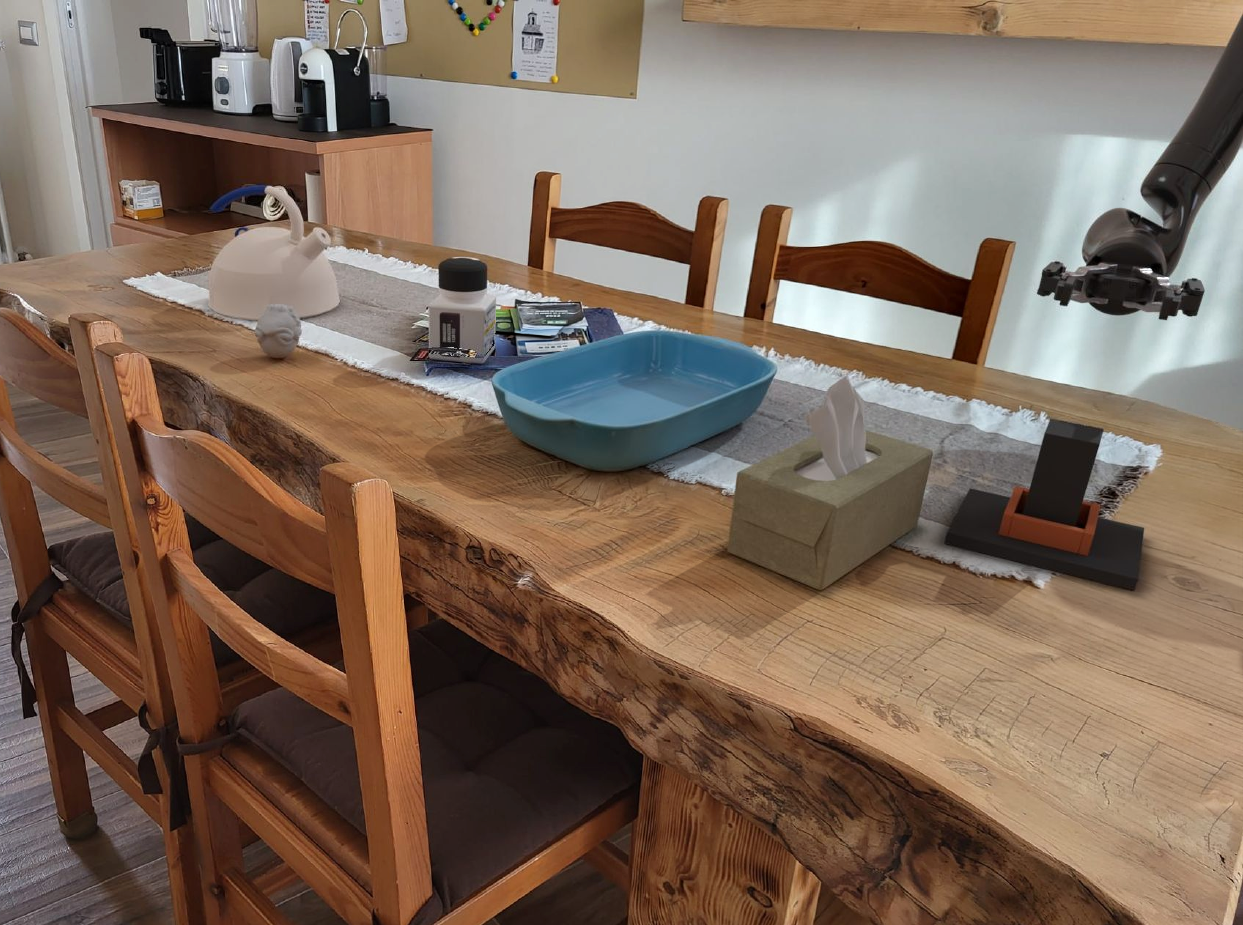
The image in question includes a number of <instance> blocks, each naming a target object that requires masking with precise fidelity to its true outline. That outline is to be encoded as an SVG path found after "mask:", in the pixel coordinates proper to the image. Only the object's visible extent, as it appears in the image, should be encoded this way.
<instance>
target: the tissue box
mask: <svg viewBox="0 0 1243 925" xmlns="http://www.w3.org/2000/svg"><path fill="white" fill-rule="evenodd" d="M823 397H824V399H825V403H824V404H822V405H821V406H820V407H819V408H817V409H816V410H815V411H813V412H811V413H810V414H808V415H806V420H807V424H808V426H809V427H810V429H811V431H812V434H814V435H812V436H810V437H809V438H806V439H804V440H802V441H799V442H798V443H796V444H793V445H791V446H789V447H787V448H785V449H783V450H781V451H779V452H777V453H775V454H772V455H770V456H768V457H766V458H764V459H762V460H760V461H758V462H756V463H754V464H752V465H749V466H748V467H746V468H743V469H741V470H739V471H738V472H737V474H736V479H735V486H734V493H733V502H732V508H731V517H730V525H729V531H728V532H729V533H728V539H727V547H726V550H727V553H729V554H731V555H733V556H736V557H738V558H741V559H742V560H745V561H748V562H750V563H752V564H754V565H758V566H760V567H762V568H765V569H766V570H770V571H772V572H774V573H777V574H779V575H781V576H784V577H786V578H788V579H790V580H793V581H796V582H798V583H800V584H802V585H806V586H808V587H810V588H813V589H815V590H817V591H823V590H824V589H826V588H827V587H828V586H830V585H832V584H833V583H834V582H836V581H838V580H839V579H841V578H842V577H844V576H845V575H846V574H848V573H849V572H851V571H852V570H853V569H855V568H857V567H858V566H859V565H861V564H862V563H864V562H866V561H867V560H869V559H870V558H871V557H873V556H875V555H876V554H878V553H879V552H881V551H882V550H883V549H885V548H887V547H888V546H890V545H891V544H892V543H894V542H895V541H896V540H899V539H900V538H901V537H903V536H904V535H906V534H907V533H909V532H910V531H912V530H914V529H915V528H916V527H917V526H918V523H919V519H920V514H921V510H922V507H923V506H922V505H923V501H924V497H925V491H926V487H927V483H928V478H929V474H930V469H931V465H932V461H933V456H934V452H933V450H932V449H930V448H926V447H923V446H921V445H917V444H914V443H910V442H906V441H903V440H900V439H897V438H894V437H890V436H887V435H885V434H884V435H883V434H881V433H877V432H874V431H871V430H867V429H866V421H865V400H864V398H863V397H862V396H861V395H860V393H859V392H858V391H857V390H856V389H855V387H853V386H852V382H851V381H850V377H849V375H845V376H844V377H842V378H840V379H839V380H837V381H836V382H834V383H833V384H832V385H831V386H829V387H828V389H827V391H826V392H825V394H824V395H823Z"/></svg>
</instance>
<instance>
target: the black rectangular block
mask: <svg viewBox="0 0 1243 925" xmlns="http://www.w3.org/2000/svg"><path fill="white" fill-rule="evenodd" d="M1103 434H1104V428H1103V427H1096V426H1092V425H1086V424H1081V423H1077V422H1070V421H1065V420H1060V419H1056V418H1055V419H1054V418H1050V419H1049V421H1048V423H1047V426H1046V428H1045V431H1044V433H1043V438H1042V440H1041V441H1042V442H1041V444H1040V448H1039V452H1038V456H1037V458H1036V459H1037V460H1036V462H1035V466H1034V470H1033V474H1032V477H1031V481H1030V484H1029V488H1028V489H1029V492H1028V496H1027V500H1026V503H1025V507H1024V511H1023V514H1022V515H1025V516H1029V517H1034V518H1038V519H1042V520H1047V521H1051V522H1055V523H1060V524H1064V525H1068V526H1072V527H1075V526H1076V522H1077V519H1078V515H1079V512H1080V509H1081V505H1082V502H1083V501H1084V499H1085V495H1086V492H1087V489H1088V485H1089V483H1090V482H1089V481H1090V478H1091V475H1092V471H1093V469H1094V466H1095V461H1096V458H1097V454H1098V451H1099V449H1100V445H1101V441H1102V437H1103Z"/></svg>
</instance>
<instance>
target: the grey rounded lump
mask: <svg viewBox="0 0 1243 925" xmlns="http://www.w3.org/2000/svg"><path fill="white" fill-rule="evenodd" d="M256 322H257V324H256V326H255V329H254V336H255V337H256V338H257V340H256V342H257V343H258V344H259V346H260V348H261V350H262V351H263V352H264V354H266V355H267V356H268V357H271V358H273V359H283V358H286V357H289V356H291V354H292V353H293V352H294V351H295V350H296V347H298V344H299V340H300V336H301V335H302V333H303V332H302V331H303V330H302V322H301V319H299V317H298V316H297V314H296V313H295V312H294V309H293V307H292V306H286V305H284V304H272V305H268V306H267V310H266V311H265V312H264V313H263V315H262V316H261V317H260V318H259V319H258V321H256Z"/></svg>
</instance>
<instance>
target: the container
mask: <svg viewBox="0 0 1243 925" xmlns="http://www.w3.org/2000/svg"><path fill="white" fill-rule="evenodd" d="M437 272H438V293H439V294H438V295H437V297H435V298H434V299H433V300H432V301H431V302H430V303H429V304H428V309H427V310H428V349H429V348H432V347H454V348H457V349H459V348H462V349H471V350H473V351H475V352H477V353H478V354H482V355H484V354H486V353H487V352H488V351H489V349H490V348H491V346H492V344H493V340H494V335H495V336H496V334H495V333H497V332H496V309H497V296H496V295H495V294H490V293H489V294H488V264H486V262H485V261H482V260H480V259H479V258H475V257H469V256H455V257H449V258H446V259H444V260H441V261H440V263H439V264H438V271H437ZM495 349H496V343H495V344H494V346H493V347H492V348H491V350H490V351H489V352H488V353H487V355H486V356H485V357H484V358H474V357H463V356H451V355H440V354H430V353H429V352H428V358H429V359H430V360H435V361H436V360H437V361H446V362H457V363H468V364H480V365H484V363H485V362H486V361H487V359H488V358H489V357H490V355H491V354H492V353H493V351H495Z"/></svg>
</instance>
